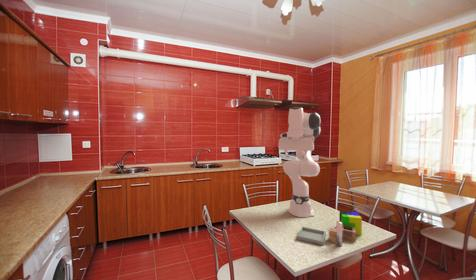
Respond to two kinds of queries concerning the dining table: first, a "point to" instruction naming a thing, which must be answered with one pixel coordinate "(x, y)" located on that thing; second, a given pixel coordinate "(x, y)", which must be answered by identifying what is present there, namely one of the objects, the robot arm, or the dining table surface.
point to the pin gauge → (339, 233)
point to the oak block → (332, 235)
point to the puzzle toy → (351, 220)
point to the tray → (311, 235)
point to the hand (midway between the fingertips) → (295, 158)
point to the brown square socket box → (349, 233)
